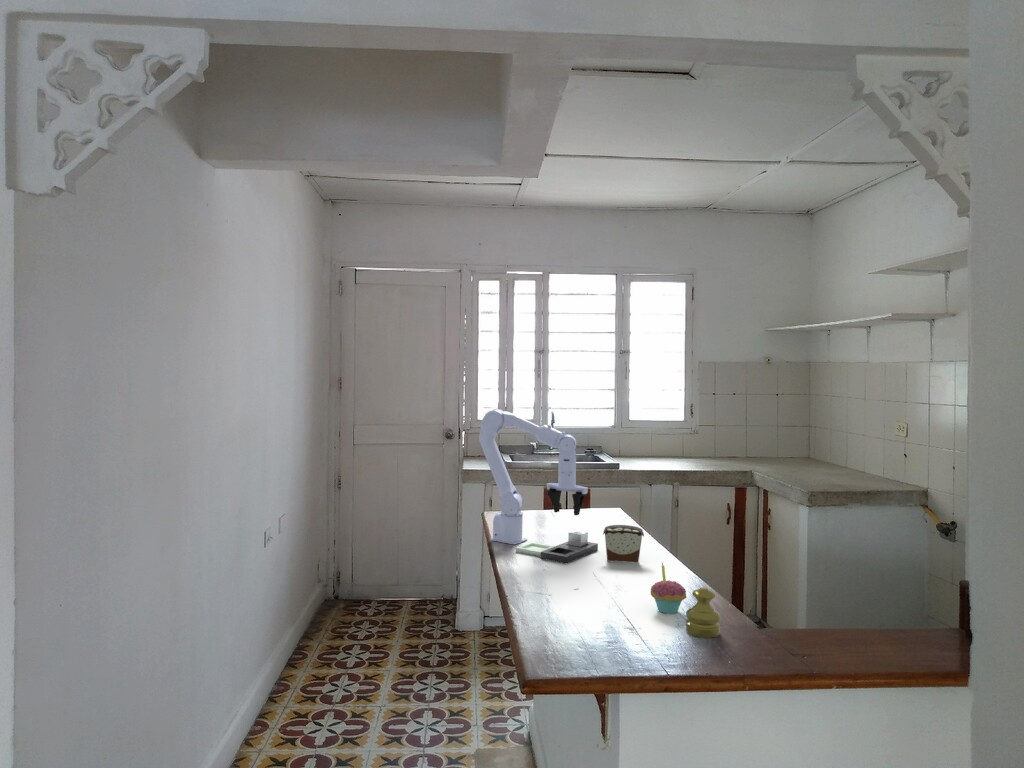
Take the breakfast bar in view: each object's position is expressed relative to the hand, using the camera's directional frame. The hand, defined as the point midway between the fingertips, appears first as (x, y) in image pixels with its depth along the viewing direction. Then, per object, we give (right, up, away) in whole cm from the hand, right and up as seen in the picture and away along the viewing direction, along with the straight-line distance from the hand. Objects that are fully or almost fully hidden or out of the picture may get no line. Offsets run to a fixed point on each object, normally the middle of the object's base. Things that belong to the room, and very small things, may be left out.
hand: (566, 513), depth 240 cm
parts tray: (-10, -10, -10) cm, 17 cm away
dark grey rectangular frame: (0, -11, -12) cm, 16 cm away
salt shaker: (+25, -14, -76) cm, 81 cm away
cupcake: (+20, -13, -62) cm, 66 cm away
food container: (+16, -11, -17) cm, 25 cm away
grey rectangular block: (+3, -11, -8) cm, 13 cm away
